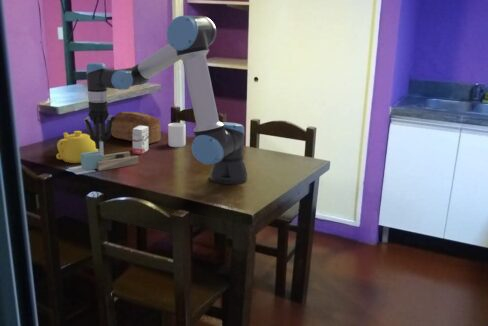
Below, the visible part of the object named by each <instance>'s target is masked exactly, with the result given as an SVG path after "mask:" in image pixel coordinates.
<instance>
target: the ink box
mask: <svg viewBox="0 0 488 326" xmlns="http://www.w3.org/2000/svg"><path fill="white" fill-rule="evenodd" d="M148 151H149V144H148V126H137V127H135V128H133V141H132V154H137V155H142V154H144V153H146V152H148Z"/></svg>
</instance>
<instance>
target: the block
mask: <svg viewBox="0 0 488 326" xmlns="http://www.w3.org/2000/svg"><path fill="white" fill-rule="evenodd" d="M100 161H102V154H101V153H99V152H97V151H94V152H87V153H81V163H80V166H82V168H84V169H85V170H92V169H93V170H95V169H97V170H98V167H97V162H100Z"/></svg>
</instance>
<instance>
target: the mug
mask: <svg viewBox="0 0 488 326" xmlns="http://www.w3.org/2000/svg"><path fill="white" fill-rule="evenodd" d="M167 131H168V132H167V134H168V137H167V138H168V146H169V147H172V148H183V147H186V144H187V143H186V139H187V138H186V132H187V131H186V123H183V122H171V123H168V124H167Z"/></svg>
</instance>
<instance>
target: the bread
mask: <svg viewBox="0 0 488 326" xmlns="http://www.w3.org/2000/svg"><path fill="white" fill-rule="evenodd" d="M113 117H114V120H113V122H112V126H111V136H113V138H116V139H121V140H126V141H130V142H133V128H135V127H137V126H148V145H149V144H154V143H157V142H159V141H161V124H162V123H161V122H160V120H159V119H158V118H157V117H155V116H153V115H151V114H148V113H144V112H139V111H119V112H117V113H116V114H115V115H113Z"/></svg>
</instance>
